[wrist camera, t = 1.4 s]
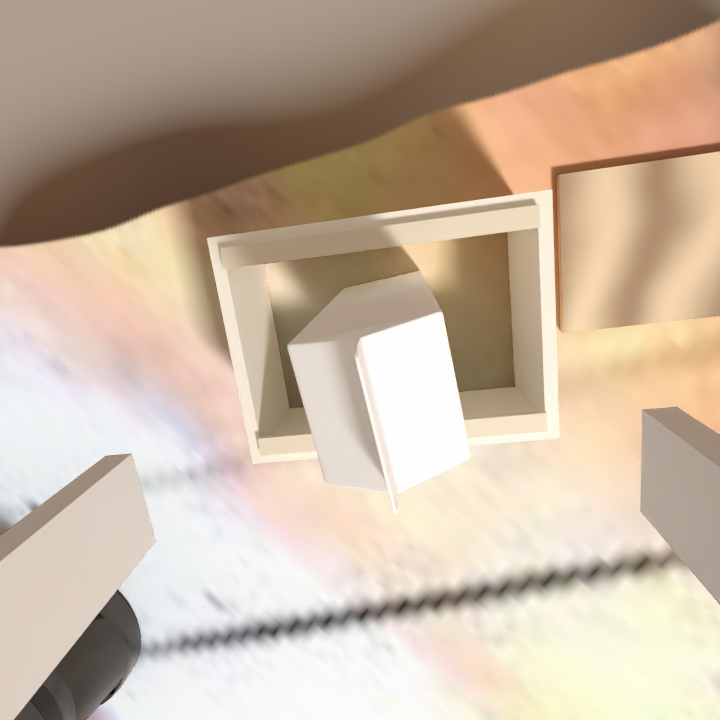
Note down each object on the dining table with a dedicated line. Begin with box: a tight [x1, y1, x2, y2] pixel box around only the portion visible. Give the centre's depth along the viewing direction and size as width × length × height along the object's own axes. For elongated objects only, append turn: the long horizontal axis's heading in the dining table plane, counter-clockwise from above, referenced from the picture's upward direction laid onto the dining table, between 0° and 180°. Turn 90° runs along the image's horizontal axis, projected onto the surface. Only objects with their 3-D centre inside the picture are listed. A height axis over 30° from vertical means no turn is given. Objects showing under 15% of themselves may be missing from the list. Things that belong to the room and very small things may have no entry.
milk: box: [287, 271, 471, 513], centre depth 26 cm, size 6×6×22 cm
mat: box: [556, 152, 720, 333], centre depth 33 cm, size 11×11×1 cm
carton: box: [207, 189, 559, 464], centre depth 32 cm, size 20×15×8 cm
